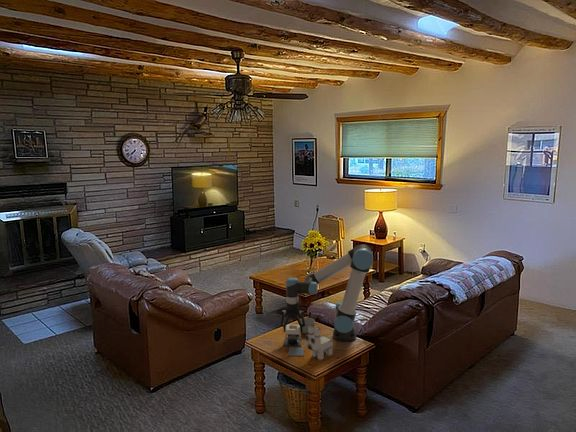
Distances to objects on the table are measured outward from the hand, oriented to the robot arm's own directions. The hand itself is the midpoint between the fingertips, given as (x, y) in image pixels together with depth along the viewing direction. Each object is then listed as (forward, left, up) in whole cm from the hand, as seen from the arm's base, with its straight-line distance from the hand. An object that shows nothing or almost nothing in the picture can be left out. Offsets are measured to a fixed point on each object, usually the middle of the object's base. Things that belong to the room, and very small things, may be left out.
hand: (293, 336), depth 271 cm
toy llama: (-18, +17, -5) cm, 25 cm away
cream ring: (0, 0, +3) cm, 3 cm away
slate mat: (-3, +12, -4) cm, 14 cm away
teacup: (-8, -19, -5) cm, 21 cm away
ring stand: (0, 0, -4) cm, 4 cm away
